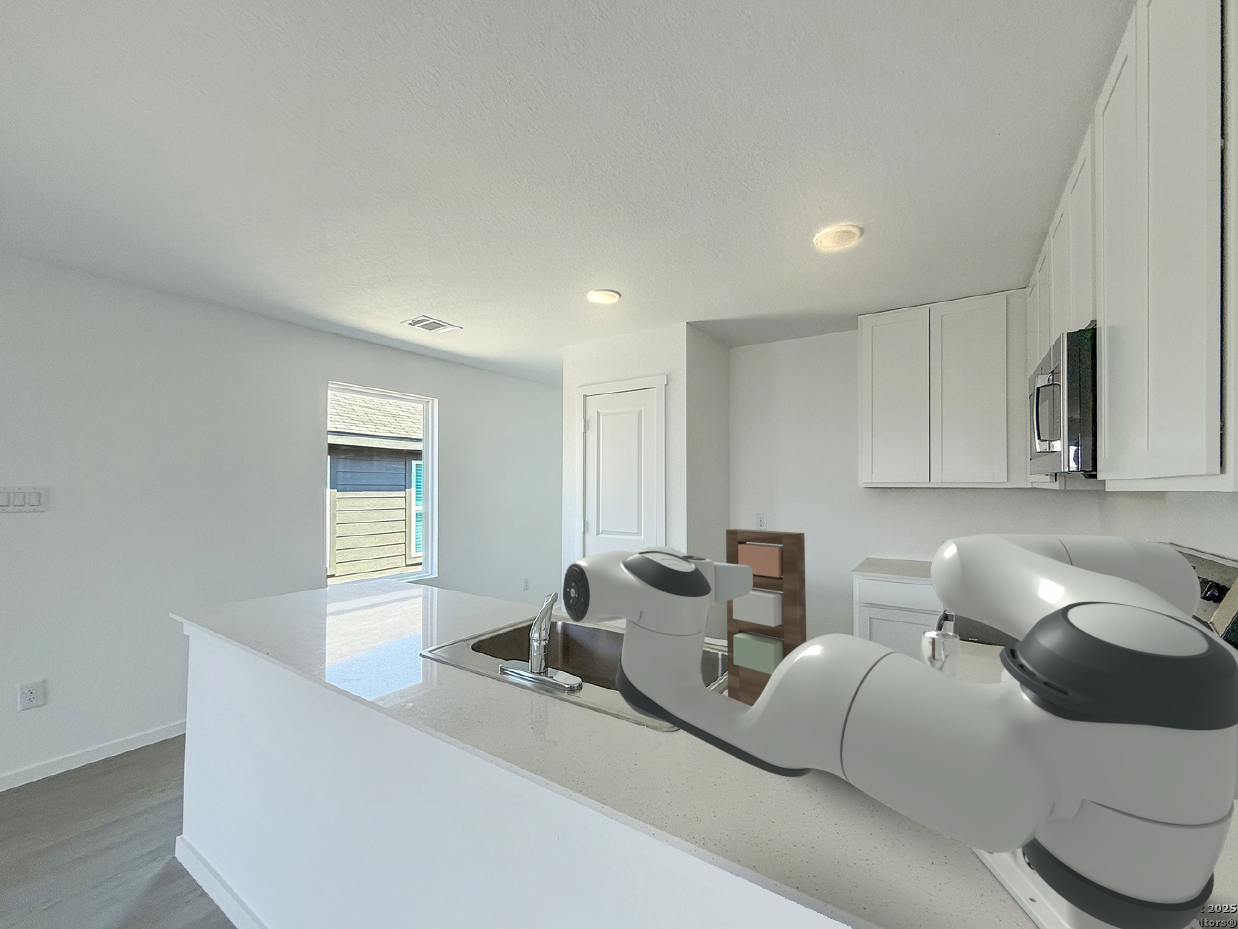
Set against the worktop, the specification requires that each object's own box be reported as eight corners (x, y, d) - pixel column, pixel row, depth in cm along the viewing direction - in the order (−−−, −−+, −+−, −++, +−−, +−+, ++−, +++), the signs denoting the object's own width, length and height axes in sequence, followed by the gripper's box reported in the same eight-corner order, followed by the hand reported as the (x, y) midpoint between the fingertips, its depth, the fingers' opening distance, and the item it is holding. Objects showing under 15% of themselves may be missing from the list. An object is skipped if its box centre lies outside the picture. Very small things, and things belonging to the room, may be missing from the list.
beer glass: (969, 718, 103) (966, 640, 103) (929, 715, 104) (927, 638, 105) (954, 704, 110) (951, 630, 110) (917, 701, 111) (915, 629, 112)
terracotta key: (778, 577, 91) (778, 547, 91) (738, 572, 96) (738, 544, 97) (790, 574, 93) (789, 546, 94) (750, 569, 99) (750, 542, 99)
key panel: (799, 759, 88) (795, 534, 89) (728, 731, 98) (726, 529, 99) (808, 753, 90) (804, 533, 91) (737, 726, 100) (735, 528, 101)
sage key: (774, 675, 89) (773, 645, 89) (733, 664, 94) (733, 635, 95) (786, 669, 91) (785, 640, 92) (746, 659, 97) (745, 631, 97)
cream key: (773, 626, 89) (773, 596, 89) (733, 618, 95) (732, 590, 95) (785, 622, 92) (785, 593, 92) (745, 614, 97) (745, 587, 98)
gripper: (609, 590, 83) (667, 580, 93) (717, 611, 68) (773, 596, 78) (609, 549, 83) (666, 543, 93) (717, 562, 69) (772, 553, 78)
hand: (716, 568), depth 85 cm, fingers closed
